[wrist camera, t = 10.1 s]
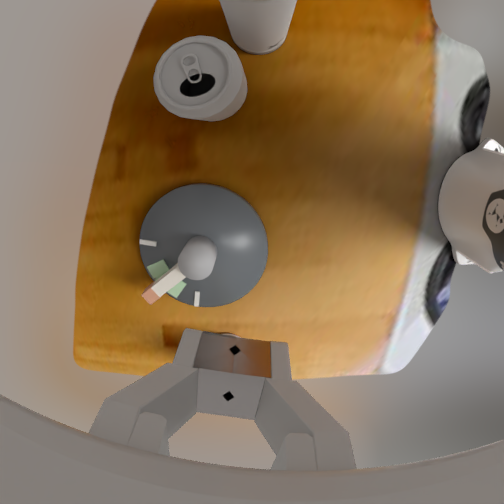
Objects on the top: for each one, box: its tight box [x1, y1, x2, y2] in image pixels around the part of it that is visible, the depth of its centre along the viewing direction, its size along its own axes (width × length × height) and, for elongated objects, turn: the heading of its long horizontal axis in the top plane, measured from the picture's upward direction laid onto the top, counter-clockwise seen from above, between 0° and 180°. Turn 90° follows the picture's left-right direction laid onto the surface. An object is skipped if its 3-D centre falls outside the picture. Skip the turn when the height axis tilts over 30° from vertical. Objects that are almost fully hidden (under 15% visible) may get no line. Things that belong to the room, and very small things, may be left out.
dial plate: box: [139, 183, 268, 307], centre depth 38 cm, size 16×16×1 cm
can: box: [153, 35, 247, 122], centre depth 26 cm, size 8×8×12 cm
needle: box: [141, 236, 217, 305], centre depth 37 cm, size 11×4×4 cm, turn 128°
